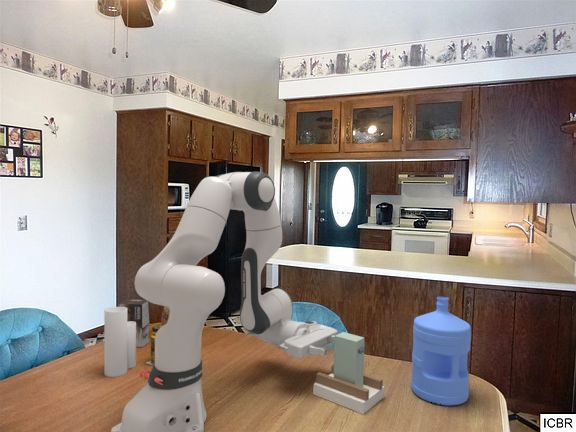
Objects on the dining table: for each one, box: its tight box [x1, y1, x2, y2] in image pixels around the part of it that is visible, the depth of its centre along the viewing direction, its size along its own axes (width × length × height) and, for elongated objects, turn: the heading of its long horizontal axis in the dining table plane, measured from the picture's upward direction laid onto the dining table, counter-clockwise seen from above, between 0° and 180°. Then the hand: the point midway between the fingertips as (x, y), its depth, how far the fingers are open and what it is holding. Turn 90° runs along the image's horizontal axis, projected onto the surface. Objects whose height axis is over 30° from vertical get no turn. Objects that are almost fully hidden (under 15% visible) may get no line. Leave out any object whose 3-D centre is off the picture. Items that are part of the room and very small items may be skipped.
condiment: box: [146, 323, 164, 366], centre depth 135 cm, size 7×8×12 cm
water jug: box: [410, 296, 472, 406], centre depth 116 cm, size 16×16×28 cm
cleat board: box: [312, 363, 385, 415], centre depth 114 cm, size 12×16×6 cm
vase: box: [103, 306, 137, 378], centre depth 128 cm, size 11×7×20 cm, turn 174°
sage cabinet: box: [333, 331, 366, 387], centre depth 113 cm, size 4×8×14 cm, turn 51°
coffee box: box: [118, 298, 151, 348], centre depth 150 cm, size 9×6×16 cm
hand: (334, 348), depth 117 cm, fingers open, 8 cm apart
